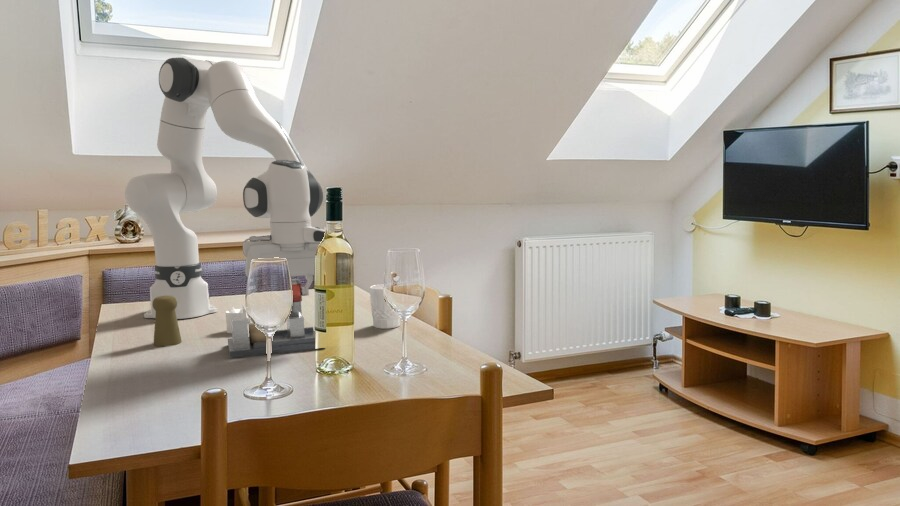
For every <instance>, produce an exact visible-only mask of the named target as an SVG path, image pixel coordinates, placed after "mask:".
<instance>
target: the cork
mask: <svg viewBox="0 0 900 506" xmlns="http://www.w3.org/2000/svg"><path fill="white" fill-rule="evenodd" d="M176 307H177V300H176V298H175V297H174V296H168V295H165V296H159V297H156V298H155V299H154V300H153V308H154V310H155V311H156V316H155V318H154V330H153V331H154V333H153V346H156V347H170V346H176V345H180V344H181V343H182V342H183V340H182V337H181V332H180V327H179V323H178V322H179V321H178V319H177V317H176V312H175V308H176Z"/></svg>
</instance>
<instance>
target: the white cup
mask: <svg viewBox="0 0 900 506" xmlns="http://www.w3.org/2000/svg"><path fill="white" fill-rule="evenodd" d="M384 284H385V283H382V284H374V285H371V286H369V295H370V297H369V298H370V306H371V317H372V321H373V324H372V325H373V328H376V329H384V330H385V329H387V330H389V329H395V328H398V327H400V326H401V317H400V318H399V317H398V316H397V315H396V314H395V313H394V312H393V311H392V310H391V309H390V307H389V306H388V305H387V303H386V302H385V300H384V296H383V287H384Z"/></svg>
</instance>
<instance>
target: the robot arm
mask: <svg viewBox="0 0 900 506" xmlns="http://www.w3.org/2000/svg"><path fill="white" fill-rule="evenodd" d="M249 78H250V77H248V74H247V73H246V72H245V70H244V69H243V68H242V66H240V65H239V64H238V63H237V62H234V61H231V60H221V61H218V62H216V61H214V60H213V61H212V60H208V59H207V60H202V59H201V60H200V59H190V58H187V59H186V58H184V57H171V58H167V59H166V60H165V61H164V62H163V63H162V65H161V67H160V69H159V73H158V84H159V88H160V91H161V92H162V94H163V95H164V100H163V104H162V107H161V112H160V119H159V125H158V126H159V128H158V134H157V143H156V145H157V146H156V147H157V149H158V150H157V151H159V153H160V154H161V155H162V156H163V157H164V158H165V159H167V160H169V161H170V172H169V173H167V172H164V173H162V172H161V173H158V172H157V173H154V172H153V173H146V174H141V175H138V176H134V177H132V178H130V179H129V181H128V182H127V184H126V185H125V186H126V187H125V191H124V197H125V201H126V204H127V205H128V207H129V208H130V210H132V212H134V213H136V214H137V215H138V216H139V217H140V218H142V220H143V221H144V222H145V224H146V226H147V227H148V229H149V231H150V234H151V236H152V241H153V247H154V255H155V257H154V258H155V265H154V270H153V272H154V279H155V281H154V283H152V284H151V286H150V287H149V295H150V297H149V298H150V300H149V301H150V302H149V303H150V309H149V310H148V311H146V312H145V313H143V318H145V319H155V316H156V311H155V310H154V308H153V300H154V299H155V298H156V297H159V296H165V295H168V296H174V297H175V298H176V300H177V307H176V308H175V312H176V317H177V320H183V319H190V318H197V317H201V316H205V315H207V314H212V313H217V312H218V308H217V307H216V306H215V305H213V304H212V303H210V298H211V297H210V294H209V284H208V282H207V281H206V280H205V279H203V278H202V271H203V268H202V263H201V262H200V255H199V253H200V252H199V239H198V238H199V237H198V236H197V234H196V232H194V230H192V229H190V228H188V227H186V226H185V225H184V223H183V221H182V218H181V216H180V214H187V213H197V212H201V211H204V210H207V209H210V208H211V207H213V206H214V205H215V204H216V201H217V197H218V188H217V185H216V183H215V181H214V180H213V178H211V176H209V174H208V173H207V171H206V169H205V166H204V162H203V145H204V135H205V130H206V129H205V128H206V120H207V119H206V118H207V112H208V109H209V108H210V109H211V111H212V114H213V117H214V120H215V122H216V124H217V125H218V127H219V128H220V130H221V132H223V133H224V134H225V135H226V136H228V137H229V138H231V139H234V140H236V141H238V142H242V143H246V144H249V145H252V146H256V147H257V148H260V149H263V150H264V151H266V152H268V153H269V154H270V155H272V157H273V158H274V161H271V162H270V163H269V165H268V168H267V170H266V171H264V172H263V173H262V174H260V175H258V176H256V177H252V178H250V179H249V180H248V181H247V182H246V183H245V186H244V188H243V190H242V191H243V192H242V199H243V206H244V208H245V210H247V212H248V213H249V214H250V215H251V216H252V217H254V218H259V219H269V227H270V228H269V230H270V235H259V236H255V235H251V236H249V238H246V239H245V240H244V241H242V253H243V255H244V257H245V267H244V268H245V270H244V271H245V276H246V277H247V278H248V274H249V269H250V262H251V260H252V259H258V258H274V257H279V258H286V259H287V261H288V265H289V270H290V276H291V277H292V278H293V277H305V280H306V282H305V285H304V286H301V290H302V297H303V296H304V297H305V296H307V297H308V296H309V295H310V292H309V288H310V287H311V286H312V285H311V284H312V283H313V281H314V276H315V275H314V262H315V254H316V250H317V247H318V245H319V244H320V242H321V241H322V239H323V237H324V233H325V230H326V229H323V228H320V227H319V226H318V227H317V226H312V218H311V217H313V216H314V215H315V214H316V213H317V212H318V211H319V210H320V208H321V206H322V204H323V202H324V201H323V200H324V192H323V189H322V186H321V184H320V183H319V181H318V179H317V178H316V177H315V176H314V175H313V174H312V172H311V171H310V170H309V169H308V167H307V165H306V164H305V162H304V160H303V158H302V156H301V154H300V153H299V151H298V149H297V148H296V146H295V144H294V142H293V141H292V138H291V137H290V135H289V134H288V132H287V131H286V129H285V128H284V127H283V125H282V124H281V123H280V122H278V120H276V119H275V118H274V117H273V116H271V114H269V112H268V111H267V110H266V109H265V107H264V106H263V105H262V103H261V102H260V99H259V97H258V95H257V92H256V91H255V87H254V85H253V84H252V82H251V80H250V79H249Z"/></svg>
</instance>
